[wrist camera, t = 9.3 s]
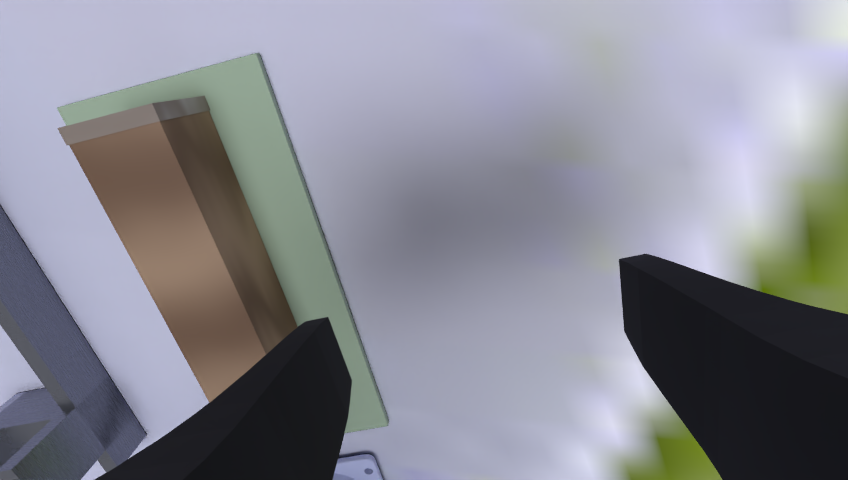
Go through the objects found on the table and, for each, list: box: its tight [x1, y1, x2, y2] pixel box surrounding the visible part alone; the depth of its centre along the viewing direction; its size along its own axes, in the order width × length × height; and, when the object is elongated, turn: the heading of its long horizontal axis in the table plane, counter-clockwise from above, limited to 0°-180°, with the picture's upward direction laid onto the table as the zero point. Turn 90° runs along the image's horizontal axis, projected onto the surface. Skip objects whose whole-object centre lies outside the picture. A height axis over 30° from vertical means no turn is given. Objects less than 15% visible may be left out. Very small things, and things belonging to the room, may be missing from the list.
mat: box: [57, 53, 389, 433], centre depth 21 cm, size 20×9×1 cm, turn 13°
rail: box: [58, 96, 298, 403], centre depth 20 cm, size 18×4×4 cm, turn 13°
